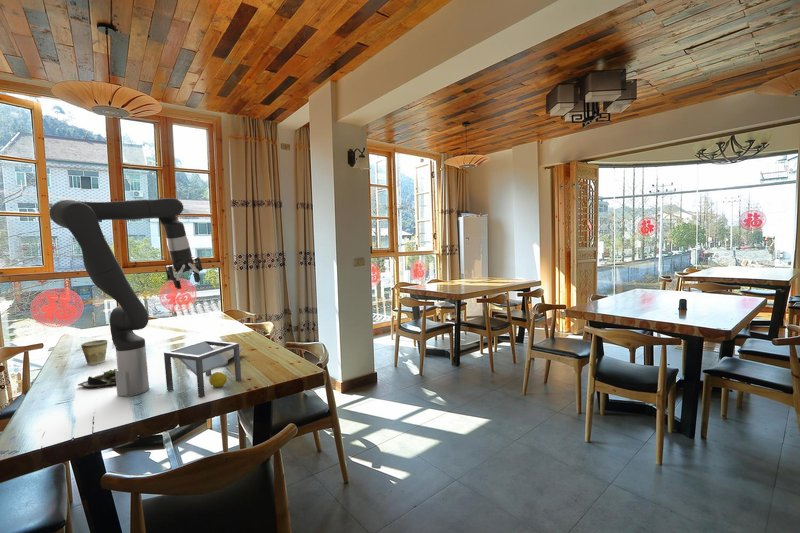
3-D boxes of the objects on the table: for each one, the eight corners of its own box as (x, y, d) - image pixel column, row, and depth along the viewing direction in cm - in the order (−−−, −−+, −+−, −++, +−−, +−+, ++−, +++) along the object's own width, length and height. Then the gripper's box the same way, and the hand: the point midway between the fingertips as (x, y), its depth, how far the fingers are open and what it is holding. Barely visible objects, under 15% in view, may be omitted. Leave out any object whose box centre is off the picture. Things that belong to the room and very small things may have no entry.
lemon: (218, 370, 153) (232, 373, 149) (215, 385, 152) (229, 388, 148) (206, 371, 148) (220, 373, 144) (203, 385, 147) (217, 388, 143)
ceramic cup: (105, 363, 183) (103, 343, 183) (79, 367, 180) (77, 346, 179) (114, 356, 195) (112, 337, 195) (90, 359, 192) (88, 340, 191)
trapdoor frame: (201, 397, 138) (198, 357, 137) (167, 391, 146) (163, 352, 144) (241, 379, 155) (238, 343, 154) (208, 374, 163) (206, 339, 161)
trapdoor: (196, 375, 142) (197, 373, 141) (172, 352, 146) (173, 350, 146) (227, 363, 154) (228, 361, 154) (204, 343, 159) (205, 341, 158)
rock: (178, 354, 176) (231, 335, 194) (181, 369, 177) (233, 349, 195) (195, 364, 163) (250, 343, 182) (199, 379, 165) (252, 357, 183)
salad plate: (98, 375, 168) (97, 365, 168) (144, 370, 172) (143, 360, 172) (73, 392, 149) (72, 380, 149) (125, 386, 154) (124, 375, 153)
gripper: (168, 252, 146) (178, 292, 151) (200, 243, 159) (209, 280, 163) (156, 251, 150) (166, 290, 154) (188, 243, 162) (197, 279, 166)
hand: (188, 285), depth 159 cm, fingers open, 8 cm apart
